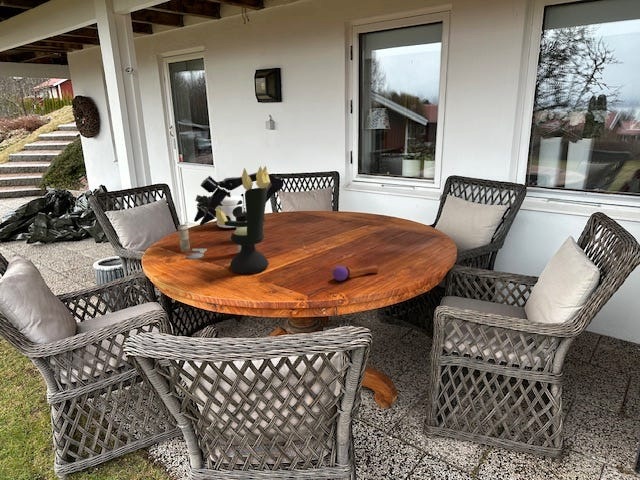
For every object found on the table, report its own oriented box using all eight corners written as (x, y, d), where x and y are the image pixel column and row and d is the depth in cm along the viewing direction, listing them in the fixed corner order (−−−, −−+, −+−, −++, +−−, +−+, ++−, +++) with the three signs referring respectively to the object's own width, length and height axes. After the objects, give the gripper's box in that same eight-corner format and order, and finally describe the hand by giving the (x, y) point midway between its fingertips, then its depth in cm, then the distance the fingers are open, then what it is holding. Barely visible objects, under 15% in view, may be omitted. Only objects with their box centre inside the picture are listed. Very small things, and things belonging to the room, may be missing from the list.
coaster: (207, 254, 205) (206, 253, 205) (197, 259, 198) (197, 258, 198) (192, 253, 207) (192, 252, 207) (183, 258, 200) (183, 257, 200)
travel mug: (249, 256, 201) (246, 215, 195) (236, 255, 202) (233, 214, 197) (254, 252, 207) (251, 212, 201) (241, 251, 208) (238, 212, 202)
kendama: (381, 266, 173) (338, 271, 164) (378, 278, 175) (336, 284, 166) (373, 259, 177) (331, 264, 169) (371, 272, 180) (329, 277, 171)
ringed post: (192, 249, 213) (190, 224, 210) (187, 252, 209) (184, 227, 205) (184, 248, 215) (181, 224, 211) (178, 251, 210) (175, 226, 207)
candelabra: (252, 258, 198) (245, 161, 185) (287, 267, 184) (282, 163, 172) (220, 269, 184) (210, 165, 171) (254, 280, 171) (246, 168, 158)
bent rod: (207, 250, 211) (206, 248, 211) (201, 253, 207) (201, 251, 206) (194, 249, 213) (194, 247, 213) (189, 252, 209) (188, 250, 208)
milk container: (212, 227, 256) (209, 197, 251) (236, 222, 268) (234, 194, 262) (226, 232, 244) (224, 201, 239) (252, 226, 255) (249, 197, 250)
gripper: (198, 186, 218) (179, 210, 215) (210, 191, 202) (190, 217, 200) (214, 199, 224) (196, 223, 221) (227, 205, 209) (208, 230, 206)
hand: (197, 223), depth 212 cm, fingers open, 9 cm apart
